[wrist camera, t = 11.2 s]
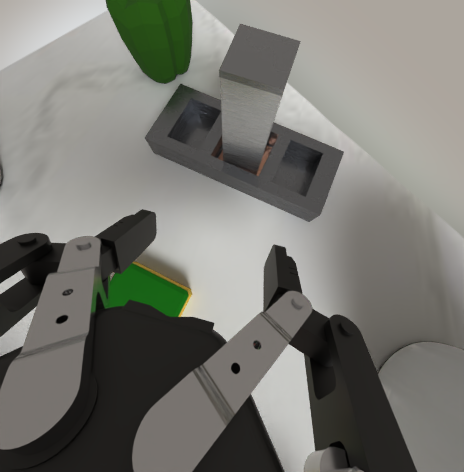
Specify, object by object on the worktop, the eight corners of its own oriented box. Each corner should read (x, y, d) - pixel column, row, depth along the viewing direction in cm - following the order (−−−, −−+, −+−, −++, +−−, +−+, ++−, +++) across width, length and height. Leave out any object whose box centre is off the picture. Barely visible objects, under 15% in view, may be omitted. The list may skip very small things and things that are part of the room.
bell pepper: (172, 35, 25) (137, -118, 15) (210, 70, 24) (198, -69, 14) (122, 64, 24) (48, -83, 14) (159, 103, 23) (108, -26, 13)
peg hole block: (153, 152, 21) (144, 137, 19) (185, 103, 23) (180, 83, 20) (309, 221, 20) (320, 215, 18) (331, 164, 22) (343, 151, 19)
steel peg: (222, 166, 20) (219, 69, 11) (233, 137, 21) (240, 23, 12) (256, 177, 20) (283, 89, 11) (266, 148, 21) (300, 41, 11)
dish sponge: (194, 290, 19) (189, 292, 16) (121, 434, 16) (103, 463, 14) (136, 260, 19) (123, 259, 17) (55, 396, 16) (26, 417, 14)
